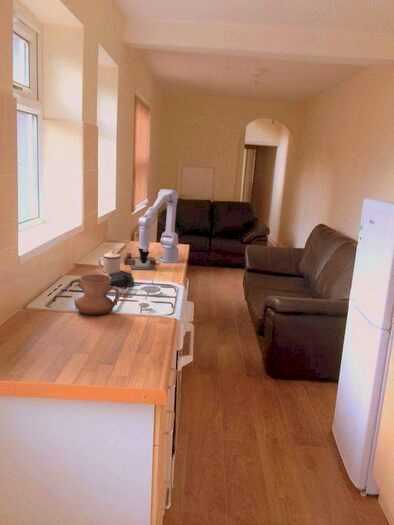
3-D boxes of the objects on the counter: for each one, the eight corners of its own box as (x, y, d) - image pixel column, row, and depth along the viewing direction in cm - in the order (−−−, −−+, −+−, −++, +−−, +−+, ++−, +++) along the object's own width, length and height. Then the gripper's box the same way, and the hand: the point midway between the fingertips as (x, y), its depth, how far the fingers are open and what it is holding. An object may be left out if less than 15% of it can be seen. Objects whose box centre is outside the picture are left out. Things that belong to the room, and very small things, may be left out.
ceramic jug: (67, 316, 172) (68, 280, 169) (79, 304, 187) (80, 271, 183) (114, 320, 172) (115, 284, 169) (122, 308, 186) (123, 275, 183)
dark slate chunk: (135, 277, 236) (136, 268, 235) (132, 289, 215) (133, 279, 214) (106, 276, 235) (106, 267, 234) (100, 287, 214) (100, 278, 213)
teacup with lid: (122, 270, 247) (122, 249, 244) (118, 274, 238) (118, 252, 235) (100, 268, 248) (100, 248, 245) (95, 272, 239) (96, 251, 236)
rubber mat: (154, 266, 261) (154, 265, 260) (156, 270, 252) (156, 269, 252) (130, 266, 258) (130, 265, 258) (131, 269, 249) (131, 268, 249)
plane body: (154, 262, 271) (154, 252, 270) (155, 265, 264) (156, 255, 262) (123, 261, 268) (124, 251, 266) (124, 264, 260) (124, 254, 259)
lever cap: (148, 265, 259) (149, 257, 258) (149, 267, 254) (149, 259, 253) (134, 265, 257) (135, 257, 256) (135, 267, 253) (135, 259, 252)
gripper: (136, 236, 257) (135, 259, 260) (138, 240, 243) (137, 264, 246) (148, 236, 258) (147, 259, 261) (151, 240, 245) (150, 265, 247)
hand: (143, 262), depth 254 cm, fingers open, 5 cm apart
